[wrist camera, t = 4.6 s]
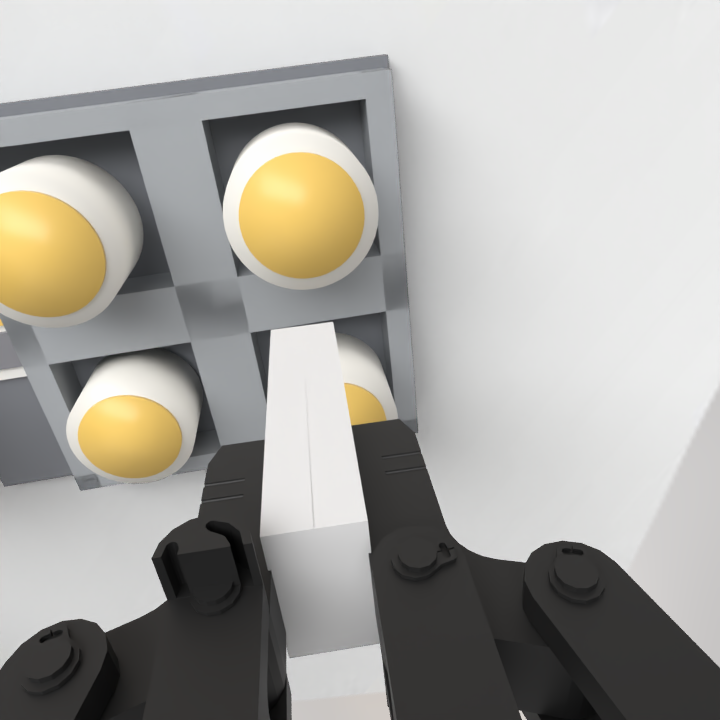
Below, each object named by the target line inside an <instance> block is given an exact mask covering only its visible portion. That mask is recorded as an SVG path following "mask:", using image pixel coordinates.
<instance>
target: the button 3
mask: <svg viewBox="0 0 720 720" xmlns="http://www.w3.org/2000/svg"><path fill="white" fill-rule="evenodd" d="M378 218H379V211H378V201H377V195H376V192H375V188H374V185H373V183H372V181H371V179H370V177H369V175H368V173H367V172H366V170H365V168H364V167H363V166H362V165H361V163H360V162H359V161H358V159H357V158H356V157H355V156H354V154H353V153H352V152H351V151H350V149H349V148H348V147H347V146H346V145H345V144H344V143H343V142H342V141H341V140H340V139H339V138H338V137H336V136H335V135H334V134H332V133H331V132H329V131H327V130H325V129H323V128H321V127H318V126H315V125H311V124H307V123H297V122H295V123H284V124H280V125H276V126H273V127H270V128H268V129H266V130H264V131H262V132H261V133H259V134H258V135H256V136H255V137H254V138H253V139H252V140H251V141H250V142H248V143H247V144H246V146H245V147H244V148H243V150H242V151H241V152H240V154H239V156H238V158H237V160H236V162H235V164H234V167H233V170H232V173H231V176H230V178H229V181H228V184H227V187H226V191H225V195H224V201H223V221H224V227H225V231H226V234H227V238H228V240H229V242H230V245H231V247H232V249H233V250H234V252H235V254H236V255H237V257H238V258H239V259H240V260H241V262H242V263H243V264H244V265H245V266H246V267H247V268H248V269H249V270H250V271H251V272H253V273H254V274H255V275H257V276H258V277H260V278H261V279H263V280H265V281H267V282H269V283H271V284H274V285H276V286H279V287H283V288H288V289H294V290H309V289H316V288H321V287H325V286H327V285H330V284H333V283H335V282H337V281H339V280H341V279H342V278H344V277H345V276H347V275H348V274H349V273H351V272H352V271H353V270H354V269H355V268H356V267H357V266H358V265H359V264H360V263H361V262H362V260H363V259H364V258H365V256H366V255H367V253H368V251H369V250H370V248H371V246H372V243H373V241H374V238H375V235H376V231H377V227H378Z"/></svg>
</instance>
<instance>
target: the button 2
mask: <svg viewBox="0 0 720 720" xmlns="http://www.w3.org/2000/svg"><path fill="white" fill-rule="evenodd" d="M202 403H203V389H202V385H201V382H200V379H199V377H198V376H197V374H196V372H195V371H194V370H193V368H192V367H191V366H190V365H189V364H188V363H187V362H186V361H185V360H183V359H182V358H181V357H179V356H177V355H176V354H174V353H172V352H170V351H167V350H164V349H162V348H158V347H157V348H150V349H144V350H138V351H131V352H125V353H119V354H112V355H107V356H106V357H105V358H103V359H102V360H101V361H100V362H99V364H98V365H97V366H96V367H95V369H94V371H93V373H92V375H91V376H90V378H89V380H88V382H87V383H86V385H85V387H84V389H83V391H82V392H81V394H80V396H79V398H78V399H77V401H76V403H75V405H74V407H73V408H72V410H71V412H70V414H69V416H68V419H67V425H66V435H67V440H68V443H69V446H70V448H71V450H72V451H73V453H74V454H75V456H76V457H77V459H78V460H79V461H80V462H81V463H82V464H83V465H85V466H86V467H87V468H88V469H90V470H91V471H93V472H94V473H96V474H98V475H100V476H102V477H105V478H107V479H110V480H114V481H117V482H123V483H132V484H139V483H149V482H154V481H158V480H161V479H164V478H166V477H168V476H170V475H172V474H173V473H175V472H176V471H178V470H179V469H180V468H181V467H182V466H183V465H184V464H185V463H186V462H187V460H188V459H189V457H190V455H191V453H192V451H193V447H194V443H195V438H196V433H197V428H198V423H199V418H200V413H201V408H202Z"/></svg>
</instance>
